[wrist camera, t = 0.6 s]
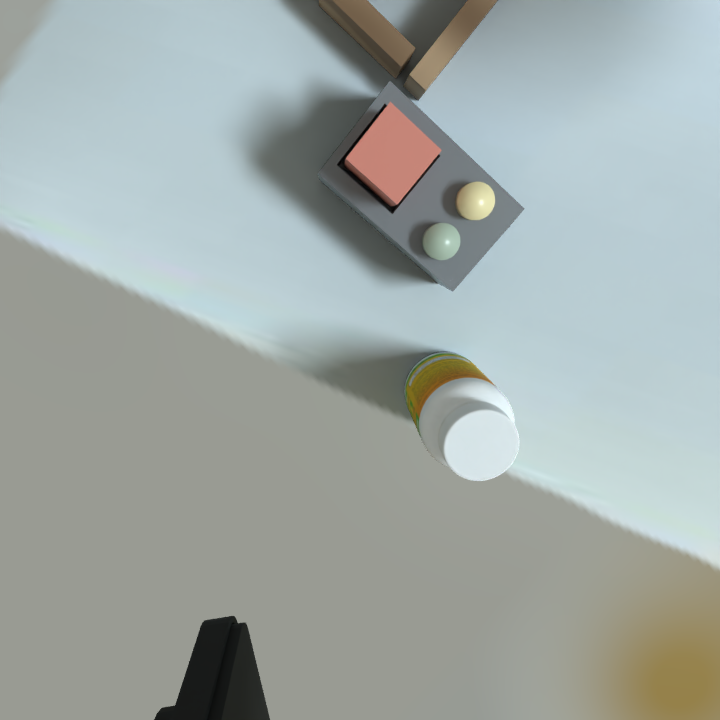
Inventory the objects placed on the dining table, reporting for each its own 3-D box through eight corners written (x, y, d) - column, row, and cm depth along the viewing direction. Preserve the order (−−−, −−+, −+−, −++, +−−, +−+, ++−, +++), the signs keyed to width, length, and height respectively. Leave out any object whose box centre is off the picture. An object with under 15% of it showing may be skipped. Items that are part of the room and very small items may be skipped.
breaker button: (383, 114, 29) (390, 101, 25) (430, 158, 29) (441, 150, 26) (344, 165, 29) (345, 158, 26) (390, 206, 30) (397, 204, 27)
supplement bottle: (387, 385, 36) (407, 443, 26) (448, 334, 35) (491, 374, 26) (436, 440, 37) (472, 513, 28) (496, 391, 36) (554, 449, 27)
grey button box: (382, 98, 31) (391, 76, 27) (502, 210, 33) (529, 208, 29) (319, 179, 32) (317, 171, 28) (439, 283, 34) (456, 293, 30)
